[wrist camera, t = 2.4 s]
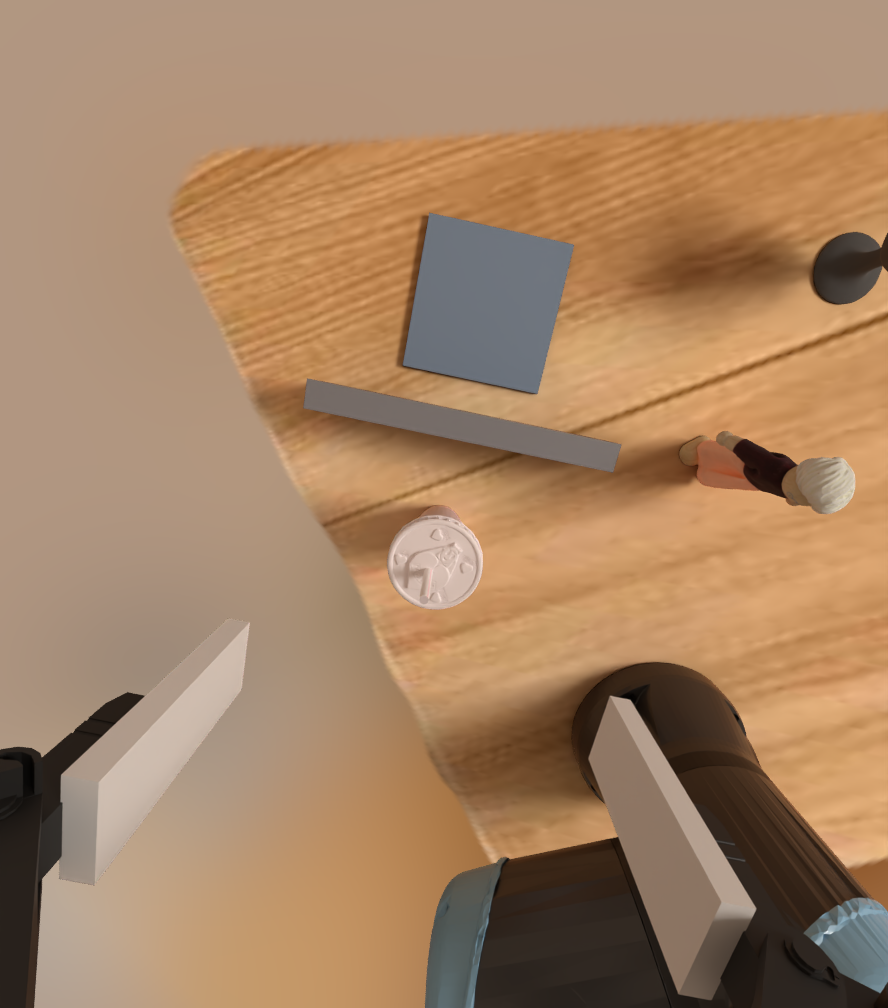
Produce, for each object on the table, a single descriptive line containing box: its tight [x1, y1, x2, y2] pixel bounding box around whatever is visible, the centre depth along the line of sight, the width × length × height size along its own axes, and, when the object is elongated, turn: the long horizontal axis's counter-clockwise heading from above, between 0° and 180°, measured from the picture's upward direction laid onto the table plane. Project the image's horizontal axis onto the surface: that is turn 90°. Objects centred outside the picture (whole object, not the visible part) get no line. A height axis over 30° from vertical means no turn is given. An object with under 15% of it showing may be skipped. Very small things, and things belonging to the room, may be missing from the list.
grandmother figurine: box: [679, 431, 855, 514], centre depth 30 cm, size 8×4×13 cm, turn 64°
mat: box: [403, 213, 574, 394], centre depth 33 cm, size 11×11×1 cm
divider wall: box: [303, 379, 621, 473], centre depth 33 cm, size 2×22×6 cm, turn 78°
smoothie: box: [387, 505, 483, 609], centre depth 31 cm, size 6×6×14 cm
